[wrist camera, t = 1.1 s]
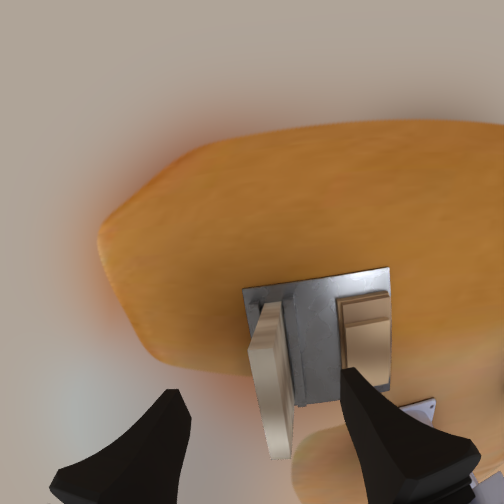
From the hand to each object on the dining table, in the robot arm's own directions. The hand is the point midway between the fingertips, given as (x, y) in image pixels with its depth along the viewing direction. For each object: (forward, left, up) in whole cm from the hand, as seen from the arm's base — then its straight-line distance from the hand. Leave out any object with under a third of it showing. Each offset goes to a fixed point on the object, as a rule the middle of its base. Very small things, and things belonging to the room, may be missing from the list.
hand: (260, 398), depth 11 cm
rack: (-5, -3, -14) cm, 15 cm away
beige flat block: (-5, +1, -14) cm, 14 cm away
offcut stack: (-5, -7, -14) cm, 16 cm away
